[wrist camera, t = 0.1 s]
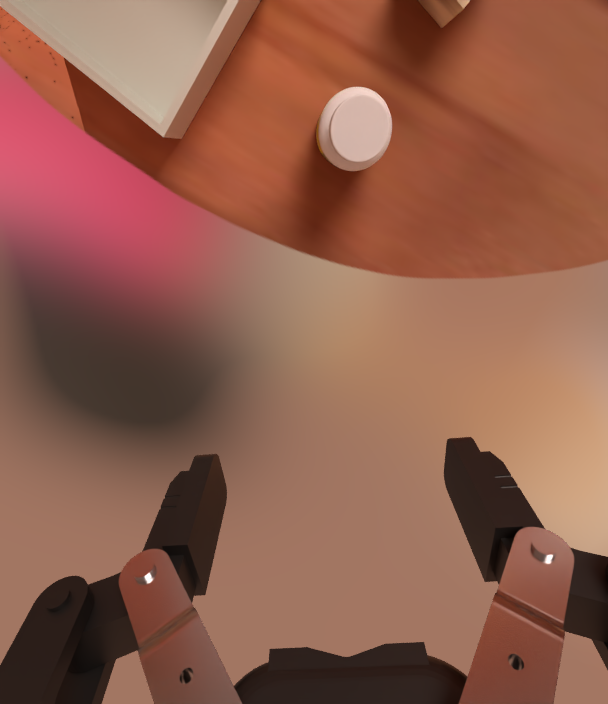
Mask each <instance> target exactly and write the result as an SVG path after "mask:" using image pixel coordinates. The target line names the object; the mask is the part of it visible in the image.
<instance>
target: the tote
mask: <svg viewBox="0 0 608 704" xmlns="http://www.w3.org/2000/svg"><path fill="white" fill-rule="evenodd" d="M260 1H261V0H0V6H1V7H2V8H3V9H4V10H6V11H7V12H8V13H9V14H11V15H12V16H13V17H14V18H16V19H17V20H18V21H19V22H21V23H22V24H23V25H24V26H26V27H27V28H28V29H29V30H30V31H32V32H33V33H34V34H35V35H37V36H38V37H39V38H40V39H42V40H43V41H44V42H45V43H47V44H48V45H49V46H50V47H52V48H53V49H54V50H55V51H57V52H58V53H59V54H60V55H62V56H63V57H64V58H65V59H67V60H68V61H69V62H70V63H72V64H73V65H74V66H75V67H77V68H78V69H79V70H80V71H81V72H83V73H84V74H85V75H86V76H88V77H89V78H90V79H91V80H93V81H94V82H95V83H96V84H98V85H99V86H100V87H101V88H103V89H104V90H105V91H106V92H108V93H109V94H110V95H111V96H113V97H114V98H115V99H116V100H118V101H119V102H120V103H121V104H123V105H124V106H125V107H126V108H127V109H129V110H130V111H131V112H132V113H134V114H135V115H136V116H137V117H139V118H140V119H141V120H142V121H144V122H145V123H146V124H147V125H149V126H150V127H151V128H152V129H154V130H155V131H156V132H157V133H159V134H160V135H161V136H162V137H165V138H177V139H182V138H183V136H184V134H185V132H186V131H187V129H188V127H189V125H190V124H191V122H192V120H193V118H194V116H195V115H196V113H197V111H198V109H199V108H200V106H201V104H202V102H203V101H204V99H205V97H206V95H207V94H208V92H209V90H210V88H211V87H212V85H213V83H214V81H215V80H216V78H217V76H218V74H219V73H220V71H221V69H222V67H223V66H224V64H225V62H226V60H227V59H228V57H229V55H230V53H231V52H232V50H233V48H234V46H235V45H236V43H237V41H238V39H239V38H240V36H241V34H242V32H243V31H244V29H245V27H246V25H247V24H248V22H249V20H250V18H251V17H252V15H253V13H254V11H255V10H256V8H257V6H258V4H259V3H260Z"/></svg>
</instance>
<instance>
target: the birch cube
mask: <svg viewBox="0 0 608 704" xmlns="http://www.w3.org/2000/svg"><path fill="white" fill-rule="evenodd" d="M469 1H470V0H418V2H419V3H420V4H421V5H422V6H423V7H424V9H425V10H426V11H427V12H428V13H429V14H430V16H431V17H432V18H433V19H434V20H435V21H436V22H437V24H438V25H439V26H440V27H441V28H443V27H444V26H445V25H446V24H447V23H448V22H450V21H451V20H452V19H453V18H454V17H455V16H456V15H457V14H459V13H460V12H461V11H462V10H463V9H464V8H465V7H466V5H467V4H468V3H469Z"/></svg>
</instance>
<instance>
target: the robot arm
mask: <svg viewBox="0 0 608 704" xmlns="http://www.w3.org/2000/svg"><path fill="white" fill-rule="evenodd" d="M444 480H445V485H446V488H447V491H448V494H449V496H450V498H451V501H452V503H453V506H454V508H455V511H456V513H457V515H458V518H459V520H460V523H461V525H462V528H463V530H464V532H465V535H466V537H467V540H468V542H469V544H470V546H471V549H472V552H473V554H474V556H475V559H476V561H477V564H478V566H479V569H480V571H481V573H482V576H483V578H484V581H485V582H490V581H498V584H499V587H498V590H497V593H495V595H494V598H493V601H492V604H491V607H490V610H489V613H488V616H487V620H486V622H485V625H484V628H483V631H482V634H481V637H480V641H479V644H478V647H477V650H476V653H475V656H474V659H473V662H472V665H471V668H470V671H469V674H468V677H467V676H466V675H465V674H464V673H462V672H461V671H459V670H458V669H456V668H455V667H454V666H452V665H450V664H448V663H446V662H445V661H442V660H440V659H437V658H435V657H431V656H428V655H427V653H426V649H425V645H424V642H416V643H395V644H394V643H393V644H384V645H381V646H378V647H375V648H373V649H370V650H367V651H365V652H362V653H359V654H357V655H353V656H351V657H342V656H338V655H334V654H331V653H327V652H323V651H319V650H315V649H311V648H308V647H304V648H283V649H270V654H269V662H268V663H265V664H263V665H261V666H259V667H257V668H255V669H253V670H252V671H251V672H249V673H248V674H246V675H245V676H244V677H243V678H242V679H241V680H240V681H238V682H237V683H236V685H235V686H233V684H232V682H231V680H230V678H229V676H228V674H227V672H226V670H225V667H224V666H223V664H222V661H221V659H220V658H219V655H218V653H217V651H216V649H215V647H214V645H213V643H212V641H211V639H210V637H209V635H208V633H207V631H206V629H205V627H204V625H203V623H202V621H201V619H200V617H199V615H198V613H197V611H196V609H195V608H194V607H193V605H192V601H193V597H194V595H195V596H196V595H205V594H206V589H207V585H208V581H209V576H210V571H211V567H212V563H213V559H214V553H215V550H216V545H217V541H218V536H219V532H220V528H221V523H222V519H223V514H224V509H225V506H226V499H227V489H226V483H225V479H224V475H223V471H222V467H221V463H220V460H219V456H218V455H217V454H209V455H197V456H195V457H194V459H193V462H192V465H191V467H190V470H189V471H181V472H180V473H179V474H178V475H177V476H176V477H175V478H174V480H173V481H172V482H171V483H170V485H169V488H168V490H167V493H166V495H165V499H164V500H163V502H162V505H161V509H160V510H159V512H158V515H157V517H156V520H155V522H154V525H153V527H152V529H151V532H150V534H149V537H148V539H147V542H146V544H145V547H144V549H143V551H142V552H141V553H139V554H137V555H136V556H134V557H133V558H132V559H130V561H129V562H128V563H127V564H126V565H125V566H124V568H123V570H122V571H121V572H120V573H118V574H116V575H114V576H111V577H109V578H106V579H103V580H100V581H97V582H95V583H92V584H89V585H88V584H87V583H86V581H85V579H83V578H81V577H79V576H69V577H65V578H63V579H60V580H58V581H56V582H55V583H53V584H52V585H50V586H49V587H48V588H47V589H45V590H44V591H43V592H42V593H41V595H40V596H39V597H38V598H37V600H36V601H35V603H34V604H33V606H32V608H31V610H30V612H29V613H28V615H27V617H26V619H25V621H24V623H23V624H22V626H21V628H20V630H19V632H18V634H17V635H16V638H15V639H14V641H13V643H12V645H11V647H10V648H9V650H8V652H7V654H6V656H5V658H4V659H3V661H2V663H1V665H0V704H101V703H102V701H103V698H104V694H105V691H106V688H107V685H108V682H109V679H110V675H111V673H112V670H113V667H114V663H115V660H116V659H117V658H119V657H122V656H124V655H127V654H129V653H131V652H134V651H136V650H138V653H139V657H140V661H141V664H142V667H143V670H144V673H145V676H146V679H147V682H148V686H149V689H150V692H151V695H152V698H153V701H154V704H553V702H554V697H555V691H556V685H557V679H558V672H559V667H560V661H561V655H562V648H563V642H564V636H565V631H566V632H569V633H573V634H577V635H580V636H583V637H587V638H590V639H592V641H593V643H594V645H595V647H596V649H597V650H598V652H599V654H600V656H601V658H602V660H603V662H604V664H605V666H606V668H607V670H608V557H606V556H601V555H597V554H592V553H588V552H583V551H579V550H576V549H573V548H570V547H569V546H568V544H567V543H566V542H565V541H564V540H563V539H562V538H560V537H559V536H558V535H556V534H554V533H553V532H551V531H548V530H546V529H545V528H544V526H543V525H542V523H541V522H540V520H539V519H538V517H537V516H536V514H535V512H534V511H533V509H532V508H531V506H530V504H529V503H528V501H527V500H526V498H525V496H524V495H523V493H522V492H521V490H520V488H518V487H517V484H516V482H515V481H514V479H513V478H512V477H511V474H510V472H509V471H508V469H507V468H506V466H505V465H504V463H503V462H502V461H501V460H500V459H498V458H497V457H496V456H495V455H494V454H492V453H491V452H490V451H489V452H480V450H479V449H478V447H477V445H476V443H475V441H474V440H473V439H472V438H471V437H464V438H450V439H448V440H447V445H446V456H445V465H444Z"/></svg>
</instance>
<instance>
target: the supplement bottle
mask: <svg viewBox="0 0 608 704" xmlns="http://www.w3.org/2000/svg"><path fill="white" fill-rule="evenodd" d="M391 133H392V119H391V114H390V111H389V109H388V106H387V104H386V103H385V101H384V100H383V99H382V98H381V96H379V95H378V94H377V93H376V92H374V91H372V90H370V89H368V88H364V87H351V88H347V89H344V90H342V91H340V92H339V93H337V94H336V95H335V96H333V97H332V98H331V99H330V101H329V102H328V103H327V104H326V106H325V108H324V110H323V111H322V113H321V115H320V117H319V120H318V123H317V128H316V140H317V145H318V148H319V150H320V152H321V154H322V155H323V156H324V157H325V159H326V160H327V161H329V162H330V163H331V164H333V165H334V166H336V167H338V168H340V169H343V170H347V171H359V170H363V169H366V168H368V167H370V166H372V165H373V164H375V163H376V162H377V161H378V160H379V159H380V158H381V157H382V155H383V154H384V153H385V151H386V149H387V147H388V145H389V142H390V139H391Z"/></svg>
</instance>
